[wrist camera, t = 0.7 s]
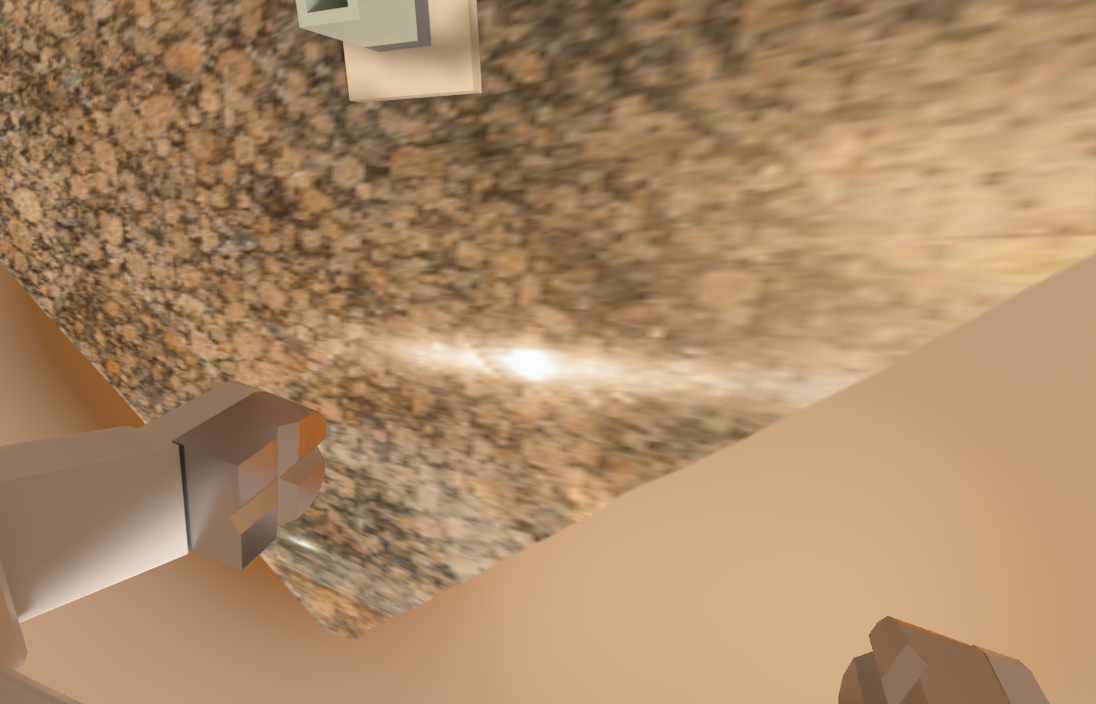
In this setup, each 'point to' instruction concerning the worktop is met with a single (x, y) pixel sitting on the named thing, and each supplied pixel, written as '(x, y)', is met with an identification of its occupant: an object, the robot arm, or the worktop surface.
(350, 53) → the pin board
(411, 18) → the sleeve
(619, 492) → the worktop surface
